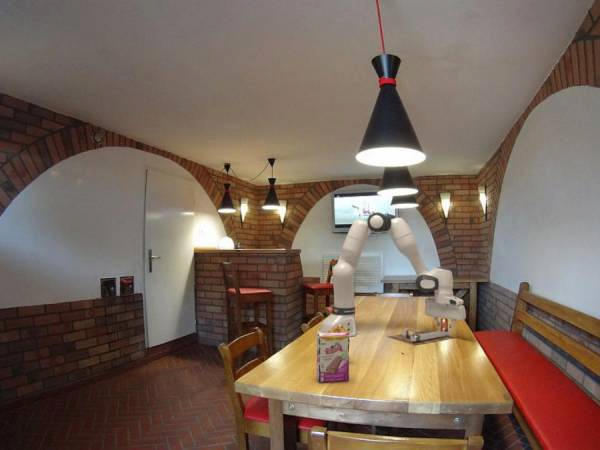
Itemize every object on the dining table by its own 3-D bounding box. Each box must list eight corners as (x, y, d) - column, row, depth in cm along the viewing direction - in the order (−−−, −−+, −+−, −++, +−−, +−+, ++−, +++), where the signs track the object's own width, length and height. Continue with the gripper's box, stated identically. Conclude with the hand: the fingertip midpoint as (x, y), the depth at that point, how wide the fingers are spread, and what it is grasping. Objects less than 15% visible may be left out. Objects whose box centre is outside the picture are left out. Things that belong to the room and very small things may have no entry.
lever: (415, 342, 175) (414, 324, 176) (409, 340, 179) (409, 323, 179) (450, 335, 187) (449, 319, 188) (444, 334, 191) (444, 317, 191)
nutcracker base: (415, 348, 172) (414, 336, 173) (386, 339, 189) (386, 328, 189) (457, 340, 186) (456, 329, 186) (427, 332, 203) (427, 322, 203)
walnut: (412, 340, 182) (412, 332, 182) (406, 338, 185) (406, 330, 186) (418, 339, 184) (418, 331, 184) (412, 337, 187) (412, 329, 188)
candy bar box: (319, 383, 130) (318, 336, 131) (316, 378, 135) (316, 332, 136) (349, 381, 132) (349, 335, 133) (346, 376, 137) (345, 331, 138)
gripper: (422, 297, 194) (422, 324, 193) (461, 302, 179) (462, 331, 179) (427, 296, 198) (428, 322, 198) (466, 300, 184) (467, 329, 183)
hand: (444, 326), depth 188 cm, fingers open, 5 cm apart
